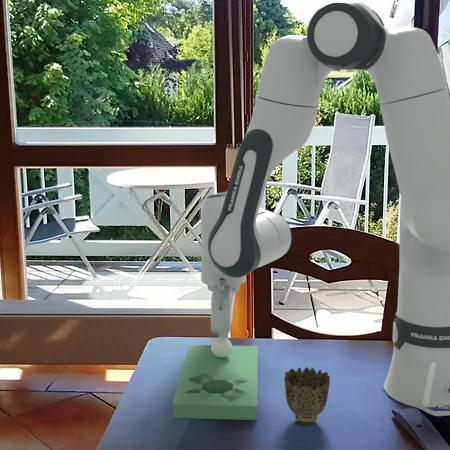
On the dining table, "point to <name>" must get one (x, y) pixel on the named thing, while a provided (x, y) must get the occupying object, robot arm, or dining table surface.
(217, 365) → the putting mat
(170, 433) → the dining table surface
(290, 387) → the cup
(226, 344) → the ball
